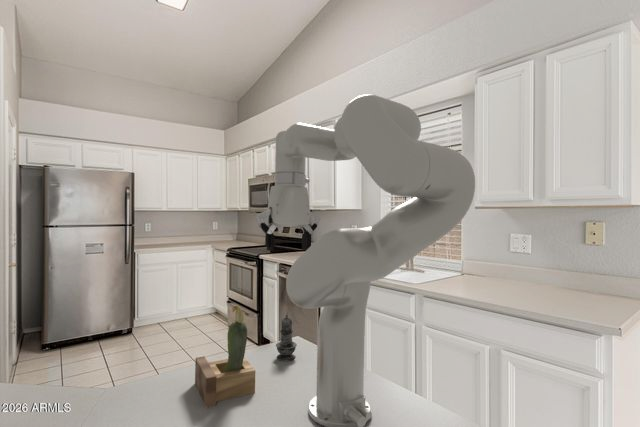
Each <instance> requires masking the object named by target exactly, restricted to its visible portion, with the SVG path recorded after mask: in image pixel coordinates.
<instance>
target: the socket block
mask: <svg viewBox="0 0 640 427" xmlns="http://www.w3.org/2000/svg"><path fill="white" fill-rule="evenodd" d="M227 362H228V358H227V359H221V360H215V361H208V363H209V365H210V366H211V368H212V370H213V371H214V373H215V375H216V403H217V402H221V401H225V400H230V399H234V398H237V397H241V396H247V395H251V394H256V369H255V368H254V367H253V365H251V363H250V362H249V361H248V360H247V358H246V357H244V359H243V364H242V369H241V370H236V371H231V372H225V371H226V366H227Z"/></svg>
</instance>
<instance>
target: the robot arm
mask: <svg viewBox="0 0 640 427" xmlns="http://www.w3.org/2000/svg"><path fill="white" fill-rule="evenodd" d="M421 131H422V125H421V120H420V118H419V116H418V114H417V113H416V112H415V111H414V109H412V108H410V107H409V106H407V105H405V104H403V103H400V102H397V101H394V100H391V99H387V98H385V97H382V96H379V95H376V94H362V95H358V96H357V97H355V98H354V99H352V100H350V101H349V102H348V104H346V106H345V108H344V110H343V112H342V115H341V116H340V117H339V119H338V120H336V123H335V125H334V128H333V129H330V128H326V127H321V126H318V125H317V126H316V125H313V124H307V123H302V122H297V123H293V124H292V125H290V126H289V127H288V128H287V129H285V130H281V131H279V132H277V134H276V136H275V158H274V159H275V160H274V162H275V165H274V173H275V174H274V185H272V186H271V187H270V191H269V196H268V203H267V209H266V210H264V211H262V212H260V213H257V214H256V215H255V217H254V218H255V220H256V222H257V224H258V227H259V228H260V229H261V231H262V232H263V233H264V234H265V240H264V241H265V242H264V243H265V244H264V245H265V248H266V250H267V251H270V252H273V251H274V250H275V234H274V231H275V230H276V229H277V227H300V228H301V230H302V232H303V233H302V234H301V249H302V250H305V251H304V252H303V253H302V254H301V255H300V256H299V257H298V258H297V259H296V260H295V261H294V262H293V264H292V265H291V267H290V269H289V270H288V273H287V276H286V282H285V286H286V287H285V288H286V293H287V296H288V298H289V299H290V301H291V302H292V303H293V304H294V305H295V306H297V307H298V308H301V309H303V310H311V309H317V308H318V309H319V308H322V309H321V313H320V315H319V319H318V324H317V348H316V349H317V350H316V352H317V353H316V354H317V355H316V356H317V357H316V395H315V396H314V397H313V398H312V399H311V400H310V401H309V403H308V414H309V416H310V418H311V419H312V420H313V421H314V422H315V423H317V424H318V425H320V426H323V427H365V425H366V423H367V422H368V421H369V420H370V419H371V418H372V416H373V414H372V407H371V405H370V404H369V402H368V401H367V399H366V396H365V395H364V391H365V390H364V387H365V386H364V385H365V382H364V380H365V379H364V377H365V376H364V374H365V333H366V332H365V331H366V330H365V329H366V314H367V313H366V311H367V305H368V299H369V295H370V289H371V282H374V281H379V280H381V279H384V278H385V277H387V276H389V275H390V274H392V273H393V272H394V271H396V270H397V269H398V268H400V267H401V266H403V265H404V264H406V263H408V262H409V261H410V260H412V259H414V257H416V256H418V255H419V254H420V253H421V252H423V251H424V250H426V249H427V248H429V247H430V246H431V245H433V244H434V243H436V242H438V241H439V240H440V239H442V238H444V237H445V236H446V235H447V234H448V233H450V232H451V231H453V229H454V228H455V227H456V226H458V225H459V223H460V222H461V221H462V220H463V219H464V218H465V216H466V214H467V212H468V211H469V209H470V208H471V206H472V203H473V200H474V197H475V192H476V176H475V172H474V169H473V166H472V164H471V162H470V161H469V159H468V158H466V157H465V155H463V154H462V153H460V152H458V151H457V150H455V149H452V148H449V147H446V146H443V145H439V144H435V143H430V142H427V141H422V140H419V139H420V135H421ZM306 158H307V159H314V160H320V161H327V162H328V161H329V162H334V161H335V162H336V161H349V160H353V159H354V158H357V160H358V161H359V162H360V164H361V165H362V166H363V167H364V170H366V172H367V174H368V175H369V177H370V178H371V179H372V180H373V182H374V183H375V184H376V185H377V186H378V187H379V188H380V189H382V191H385V192H386V193H387V194H391V195H393V196H398V197H407V198H408V197H409V198H411V199H409V200H408V201H405V202H404V203H402V204H400V205H397V206H396V207H394V208H393V209H391V210H390V211H389V212H388V213H386V215H384V216H383V217H382V218H380V219H379V220H378V221H377V222H375V223H374V224H373V225H370V226H367V227H359V228H358V227H356V228H354V227H353V228H352V227H351V228H347V227H345V228H336V229H332V230H330V231H328V232H326V233H324V234H322V235H321V236H320V237H319V238H318V239H316V241H314V242H313V243H312V234H314V231H316V229H317V227H318V225H319V223H320V220H321V217H320V216H319V215H318V214H316V213H314V212H313V211H311V210H310V209H311V206H310V196H309V190H308V187H306V185H307V184H309V183H310V178H307V174H306ZM265 218H266V223H267V224H266V223H265V221H264V219H265ZM310 219H312V222H311V223H310Z"/></svg>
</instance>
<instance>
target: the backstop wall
mask: <svg viewBox="0 0 640 427" xmlns="http://www.w3.org/2000/svg"><path fill="white" fill-rule="evenodd" d="M208 362H209V361H208V360H207V358H206V357H205V356H200V357H195V362H194V363H195V367H194V369H195V372H194V373H195V374H194V385H195V387H196V389H197V391H198V394H199V396H200V398H201V401H202V403H203V405H204V407H205V408H210V407H215V406H216V405H217V402H216V375H215V373H214V371H213V370H212V368H211V366H210V365H209V363H208Z"/></svg>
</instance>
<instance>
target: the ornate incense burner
mask: <svg viewBox="0 0 640 427" xmlns="http://www.w3.org/2000/svg"><path fill="white" fill-rule="evenodd" d="M279 332H280V336H281V337H280V341H279V342H277V343H275V347H276V350H277V352H278V353H279V354H278V355H277V356H276V359H277V360H278V361H281V362H290V361H293V360H295V359H296V355H295V354H294V352H295V350H296V347H297V346H298V345H297V343H296V342H294V341H293V333H294V330H293V321H292V319H291V318H289V315H288V314H285V317H283V319H282V320H281V329H280V330H279Z"/></svg>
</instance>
